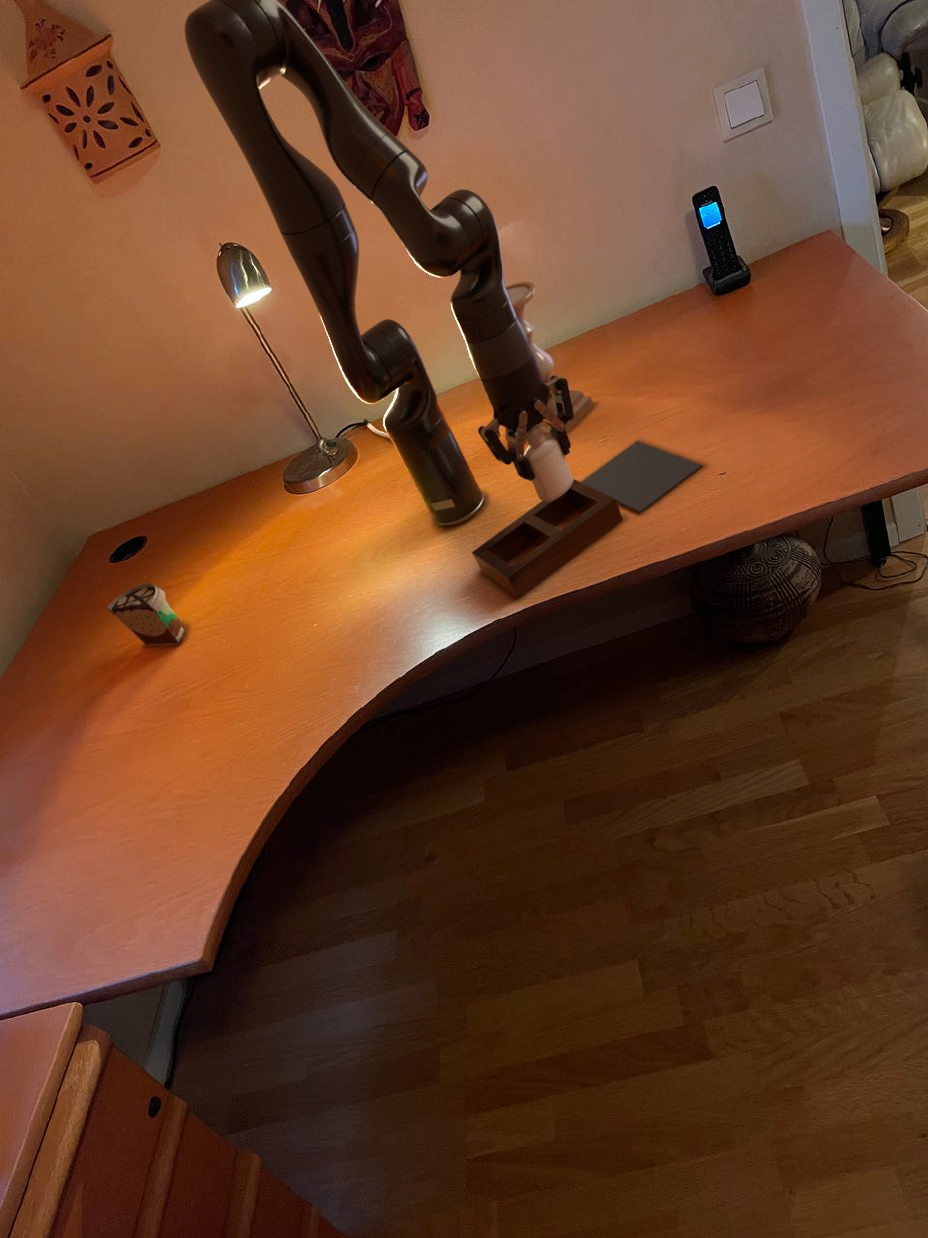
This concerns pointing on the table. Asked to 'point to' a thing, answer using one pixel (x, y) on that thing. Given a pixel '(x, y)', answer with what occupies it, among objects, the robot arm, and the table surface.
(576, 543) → the rack
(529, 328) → the candle holder
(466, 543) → the table surface
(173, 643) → the food container
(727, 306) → the table surface
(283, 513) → the table surface
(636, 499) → the mat
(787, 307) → the table surface
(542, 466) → the eye dropper bottle
